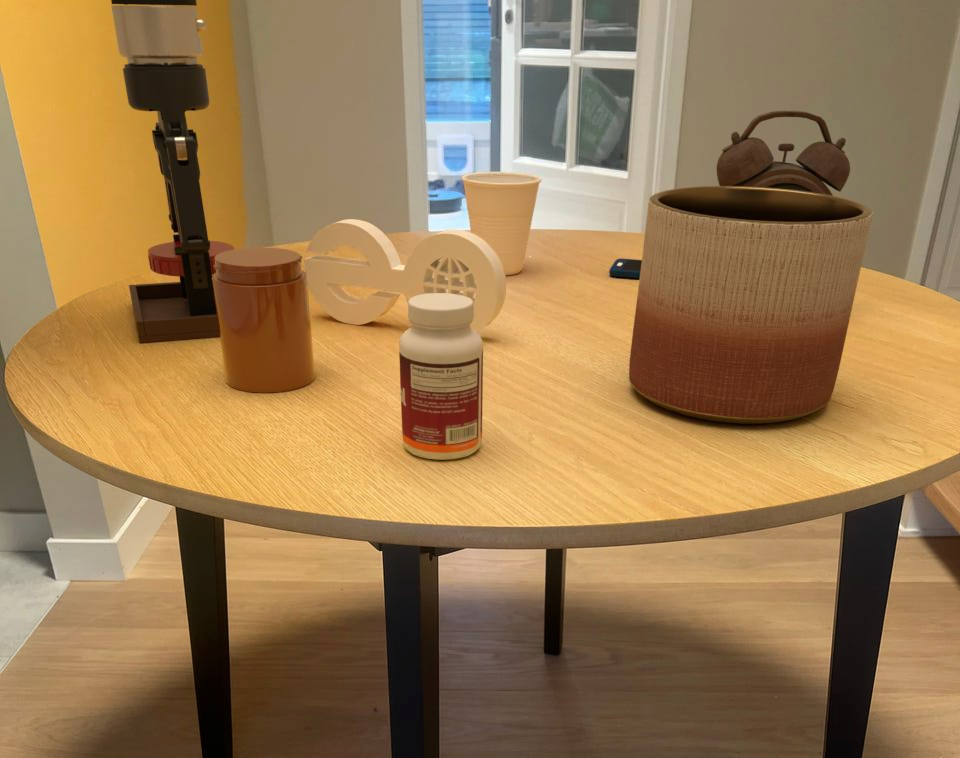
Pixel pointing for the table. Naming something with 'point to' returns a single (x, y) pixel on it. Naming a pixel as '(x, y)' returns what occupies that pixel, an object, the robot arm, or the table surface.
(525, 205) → the cup
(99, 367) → the table surface
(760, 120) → the alarm clock
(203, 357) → the table surface
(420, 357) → the pill bottle
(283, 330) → the jar
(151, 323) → the tray
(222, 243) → the jar lid
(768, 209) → the planter
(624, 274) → the cell phone
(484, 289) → the cream logo sign
